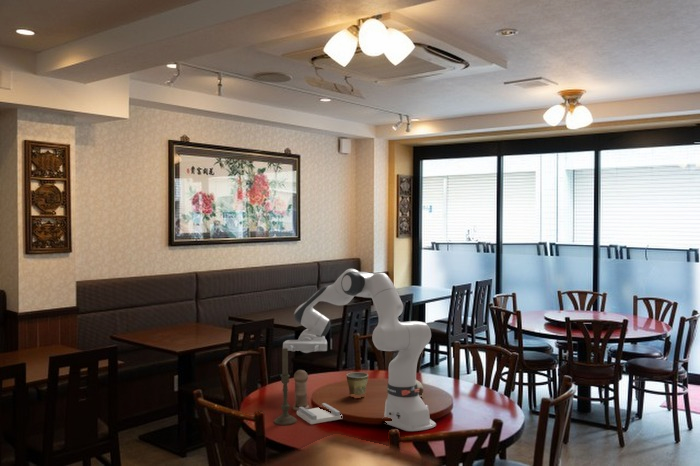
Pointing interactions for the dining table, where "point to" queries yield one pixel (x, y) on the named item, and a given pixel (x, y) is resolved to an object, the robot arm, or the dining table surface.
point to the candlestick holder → (285, 393)
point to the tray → (319, 414)
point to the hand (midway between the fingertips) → (303, 349)
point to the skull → (419, 387)
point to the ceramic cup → (357, 382)
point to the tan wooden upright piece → (300, 390)
